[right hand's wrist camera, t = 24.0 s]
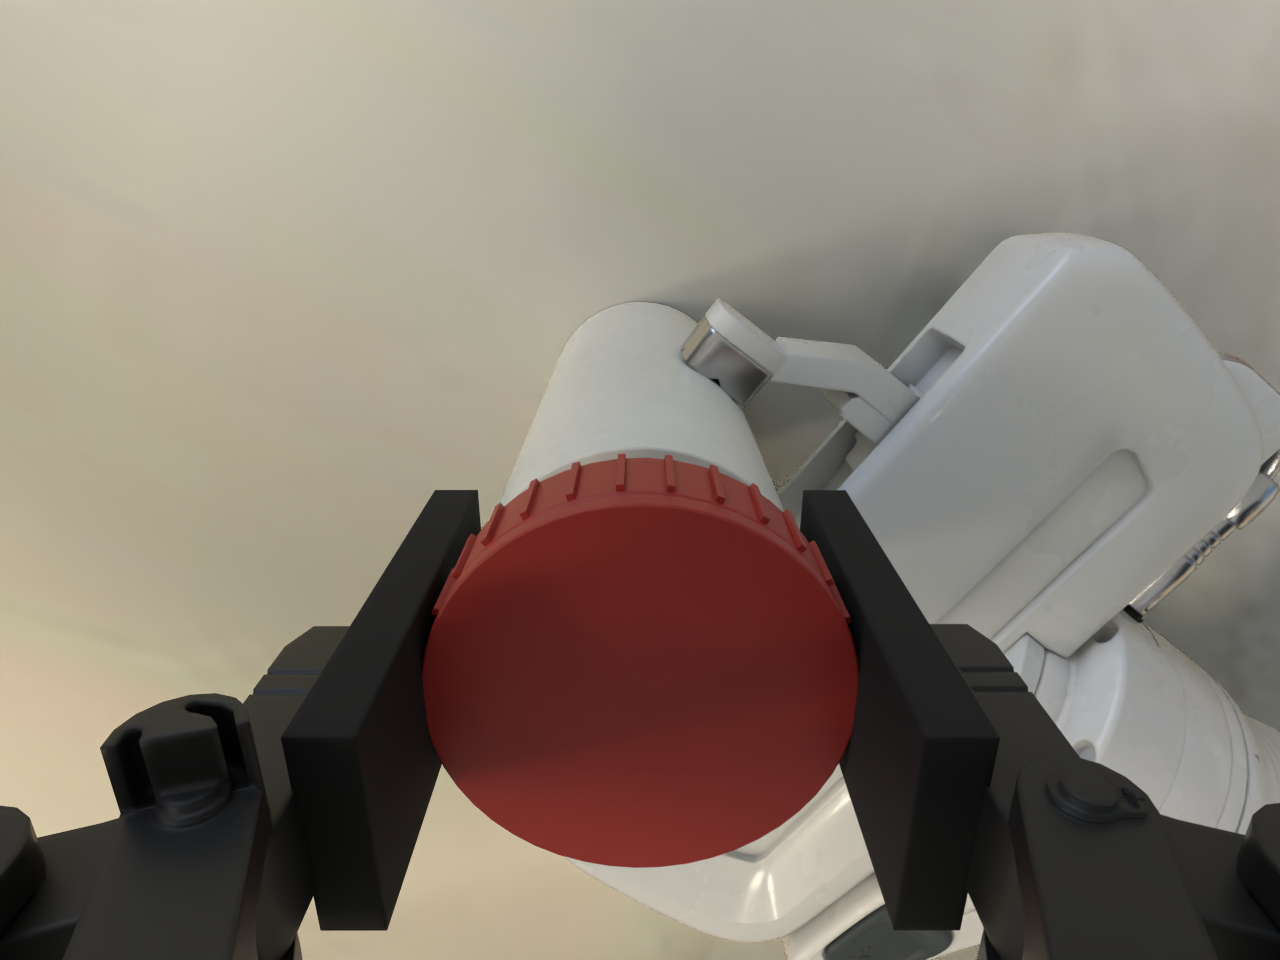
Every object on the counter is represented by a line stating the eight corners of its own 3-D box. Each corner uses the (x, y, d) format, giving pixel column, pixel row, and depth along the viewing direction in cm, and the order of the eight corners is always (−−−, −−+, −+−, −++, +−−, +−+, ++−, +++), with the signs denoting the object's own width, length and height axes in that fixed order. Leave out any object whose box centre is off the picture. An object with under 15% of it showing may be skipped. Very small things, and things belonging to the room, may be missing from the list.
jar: (693, 486, 27) (750, 832, 13) (536, 440, 26) (420, 752, 12) (749, 331, 25) (887, 544, 11) (581, 278, 24) (502, 433, 10)
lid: (909, 672, 12) (947, 745, 11) (601, 843, 14) (596, 931, 12) (690, 366, 11) (699, 401, 9) (360, 597, 12) (318, 664, 10)
